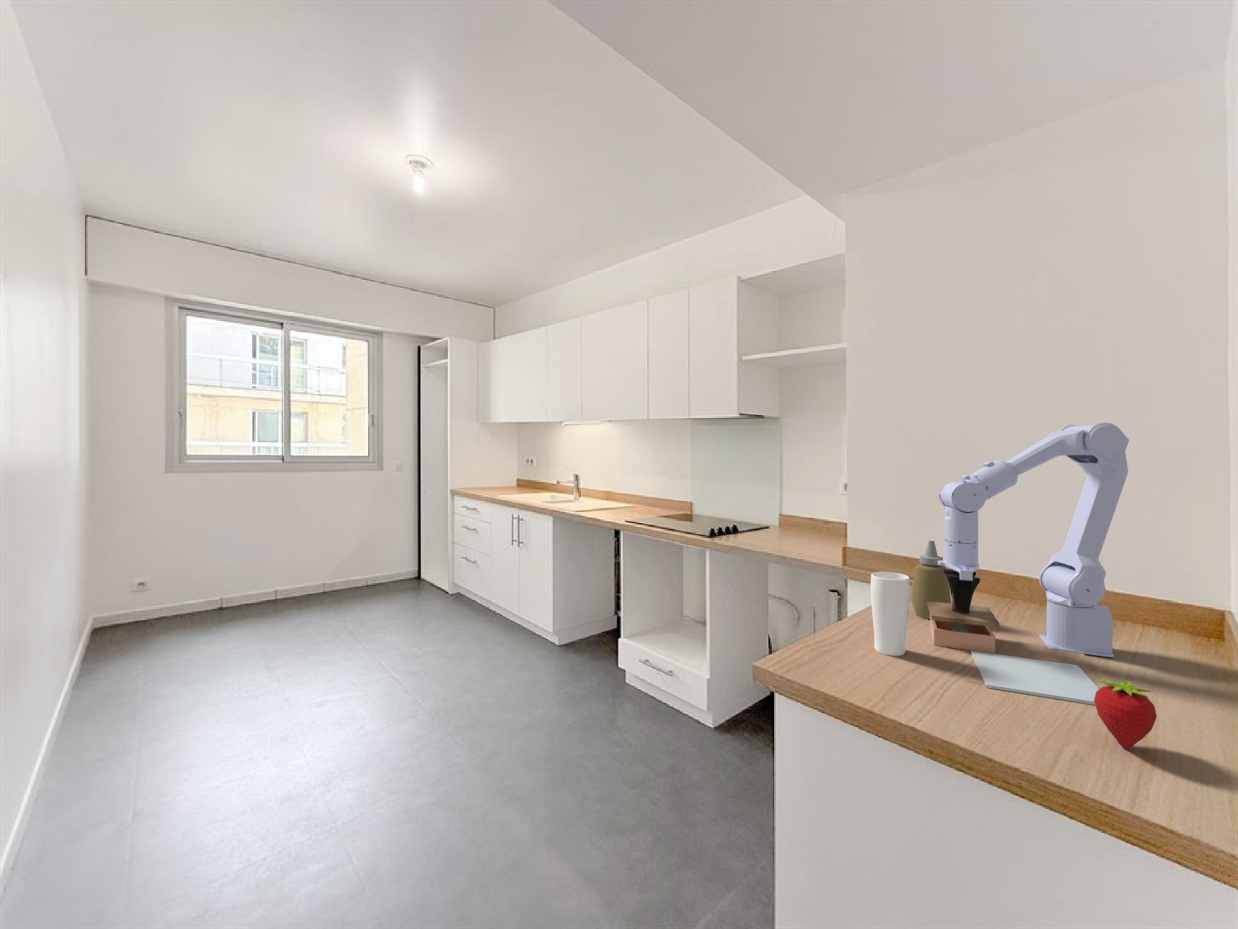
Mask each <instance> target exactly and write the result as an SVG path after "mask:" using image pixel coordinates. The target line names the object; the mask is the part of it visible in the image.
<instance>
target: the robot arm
mask: <svg viewBox="0 0 1238 929" xmlns="http://www.w3.org/2000/svg"><path fill="white" fill-rule="evenodd" d="M1129 441H1130V439H1129V438H1128V437H1127V436H1126V434H1125V433H1124V432H1123V431H1122V430H1121V428H1120V427H1118V426H1117V425H1115V424H1113V423H1109V422H1100V423H1094V424H1093V423H1091V424H1069V425H1065V426H1063V427H1062V428H1060V429H1058V430H1055V431H1053V432H1051V433H1049V434H1048V435H1046V436H1045V437H1044V438H1043V439H1041V440H1039V441H1038V442H1036V443H1034V444H1033V445H1031V446H1029V447H1028V448H1025V450H1023V451H1021V452H1020V453H1018V454H1016V455H1014V457H1012V458H1010V459H1008V460H1007V461H1002V460H994V461H991V460H987V461H986V462H983V464H982V466H983V467H981V468H980V469H978V470H976V471H974V472H972V473H971V474H969V475H968V474H964V475H962V476H961V480H960V481H953V482H949V483H947V484H946V485H944V486H943V488H942V490H941V492H940V494H939V495H938V499H939V502H940V503H941V505H942V506H943V507H944V559H943V561H941V560H939V561H938V565H941V566H944V567H945V568H946V569H944V570H943V571H944V573H945V575H946V577H947V579H948V582H949V587H950V596H951V597H952V593H953V599H954V604H955V608H956V610H960V611H969V608H970V605H971V603H972V601H973V597H974V596H973V595H974V593H975V591H976V589H977V587H978V586H979V584H980V583H981V578H980V577H976V575H977V572H976V571H978V570H979V569H980V564H979V510H981V509H982V508H983V507H984V505H985V503H986V501H987V500H990V499H991V498H993V497H995V496H997V495H998V494H1000V493H1002V492H1004V491H1007V489H1010V488H1012V487H1013V486H1015V485H1016V484H1017V483H1018V482H1017V481H1018V479H1019V475H1022V474H1024V473H1026V472H1028V471H1030V470H1032V469H1034V468H1036V467H1039V466H1041V465H1042V464H1045V463H1047V462H1049V461H1050V460H1053V459H1055V458H1056V457H1061V456H1065V457H1067V458H1069V459H1070V460H1071V461H1073V462H1074V463H1076V464H1077V465H1079V466H1080V467H1081V469H1082V470H1083V471H1084V473H1085V474H1086V479H1085V482H1084V484H1083V487H1082V491H1081V494H1080V496H1079V498H1078V503H1077V505H1076V509H1075V511H1074V514H1073V517H1072V520H1071V522H1070V525H1069V529H1068V532H1067V535H1066V538H1065V541H1064V543H1063V547H1062V548H1061V550H1059V551H1057V552H1056V553H1054V554H1053V555H1051V556H1050V559H1049V562H1048V563H1047V564H1046V565H1045V566H1044V567H1043V568H1042V569H1041V570H1040V573H1039V575H1038V582H1039V585H1040V587H1041V588H1042V589H1043V590H1044V591H1045V597H1046V628H1045V631H1046V634H1039V639H1041V640H1042V641H1043V643H1044V644H1045V645H1046V647H1048V648H1049V650H1052V651H1053V650H1054V651H1059V652H1060V651H1061V652H1068V653H1069V652H1070V653H1077V654H1084V655H1090V656H1099V657H1105V658H1107V657H1108V658H1114V654H1113V636H1114V635H1113V628H1114V626H1113V623H1114V622H1113V617H1112V613H1111V610H1110V608H1109V607H1108V606H1106V605H1101V604H1099V603H1100V602H1101V601H1103V599H1104V598H1105V596H1106V585H1105V578H1106V575H1107V571H1106V569H1105V568H1104V567H1103V565H1102V564H1101V562H1100V560H1099V559H1100V555H1101V552H1102V550H1103V547H1104V544H1105V540H1106V538H1107V534H1108V532H1109V530H1110V527H1111V522H1112V520H1113V518H1114V514H1115V512H1116V508H1117V506H1118V503H1119V501H1120V497H1121V494H1122V491H1123V489H1124V485H1125V482H1126V479H1127V477H1128V474H1129V466H1128V462H1127V460H1128V459H1127V454H1126V450H1127V448H1128V444H1129ZM971 606H972V605H971Z"/></svg>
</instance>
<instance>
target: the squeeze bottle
mask: <svg viewBox="0 0 1238 929" xmlns="http://www.w3.org/2000/svg"><path fill="white" fill-rule="evenodd" d="M939 560H941V561H944V557H942V556H940V555H939V554H938V551H937V546H936V543H935V541H934V540H928V542H927V545H926V549H925V553H924V554H921V555H919V564H917V565H915V566H914V573H913V581H912V582H913V583H912V589H911V595H910V601H911V604H912V607H913V609H914V610H913V611H914V612H915V615H916V617H918V616H919V617H921V618H920V619H922V618H923V619H922V620H926V619H930V612H929V609H928V606H927V601H932V602H942V603H952V596H951V591H950V586H949V582H948V579H947V577H946V575H945V573H944V571H943V570H944V569H947V567H946V566H941V565H938V561H939ZM919 617H918V618H919Z"/></svg>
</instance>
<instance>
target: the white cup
mask: <svg viewBox="0 0 1238 929" xmlns="http://www.w3.org/2000/svg"><path fill="white" fill-rule="evenodd" d="M910 583H911V579H910V576H908V575H906V574H903V573H899V572H898V573H897V572H892V571H891V572H890V571H874V572H872V573H871V574H870V602H871V603H870V604H871V614H872V615H871V617H872V623H873V624H872V625H873V626H872V627H873V639H874V640H873V643H874V646H873V647H874V649H875V651H876V652H877V653H880V654H881V655H886V656H889V657H901V656H903V655H905V653H906V641H907V630H908V621H909V612H910V611H909V609H910V601H911V584H910Z"/></svg>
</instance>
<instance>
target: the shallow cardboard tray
mask: <svg viewBox="0 0 1238 929" xmlns="http://www.w3.org/2000/svg"><path fill="white" fill-rule="evenodd" d="M955 626H963V627H965V628H966V629H967V630H968V632H961V631H952V629H953V628H954V627H955ZM929 631H930V632H929V633H930V636H931V639H932V643H933V646H936V647H937V646H938V647H946V648H953V649H959V650H965V651H977V652H984V653H992V654H996V635H995V634H994V633H993V631H992V629H991V628H990V626H982V625H974V624H965V623H956V622H948V621H939V620H932V618H931V615H930V620H929Z"/></svg>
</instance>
